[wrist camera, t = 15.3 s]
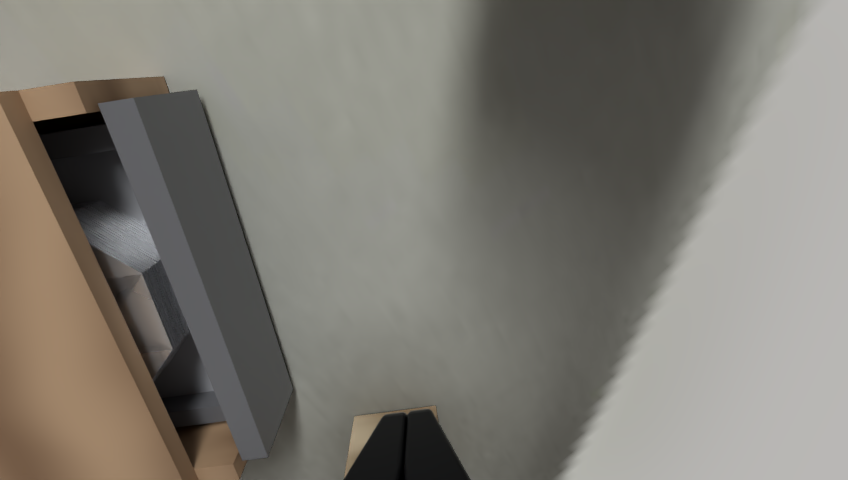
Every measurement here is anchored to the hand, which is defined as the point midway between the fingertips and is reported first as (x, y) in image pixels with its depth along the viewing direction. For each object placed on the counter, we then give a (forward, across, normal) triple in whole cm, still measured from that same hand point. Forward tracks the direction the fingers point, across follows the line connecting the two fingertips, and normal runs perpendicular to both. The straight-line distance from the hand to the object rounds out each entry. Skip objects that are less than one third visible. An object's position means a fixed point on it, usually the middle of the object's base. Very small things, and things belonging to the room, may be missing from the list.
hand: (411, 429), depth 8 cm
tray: (+11, +13, 0) cm, 17 cm away
